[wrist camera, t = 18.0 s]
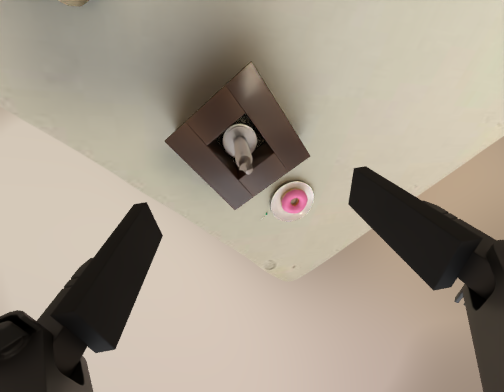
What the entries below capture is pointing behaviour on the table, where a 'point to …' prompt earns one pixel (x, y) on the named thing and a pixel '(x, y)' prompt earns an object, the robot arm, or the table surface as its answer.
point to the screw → (241, 145)
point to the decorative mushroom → (74, 2)
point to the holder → (224, 115)
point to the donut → (292, 201)
